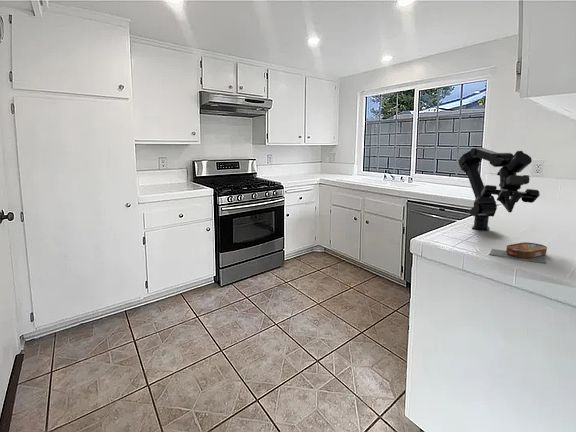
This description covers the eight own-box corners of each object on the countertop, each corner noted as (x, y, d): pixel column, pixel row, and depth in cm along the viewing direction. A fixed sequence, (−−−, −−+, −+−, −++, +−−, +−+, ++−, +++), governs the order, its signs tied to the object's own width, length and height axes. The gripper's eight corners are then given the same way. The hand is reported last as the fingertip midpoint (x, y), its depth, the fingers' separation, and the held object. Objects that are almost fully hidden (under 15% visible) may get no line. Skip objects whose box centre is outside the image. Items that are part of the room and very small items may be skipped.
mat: (491, 249, 123) (492, 248, 123) (545, 257, 114) (545, 256, 114) (489, 254, 117) (489, 254, 117) (545, 263, 108) (545, 262, 108)
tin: (528, 241, 123) (553, 245, 115) (527, 249, 123) (552, 254, 115) (500, 246, 117) (525, 251, 110) (500, 254, 118) (524, 260, 110)
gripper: (489, 164, 128) (490, 198, 121) (544, 169, 123) (549, 204, 116) (480, 181, 137) (480, 212, 131) (531, 185, 132) (534, 219, 125)
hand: (510, 211), depth 125 cm, fingers closed
